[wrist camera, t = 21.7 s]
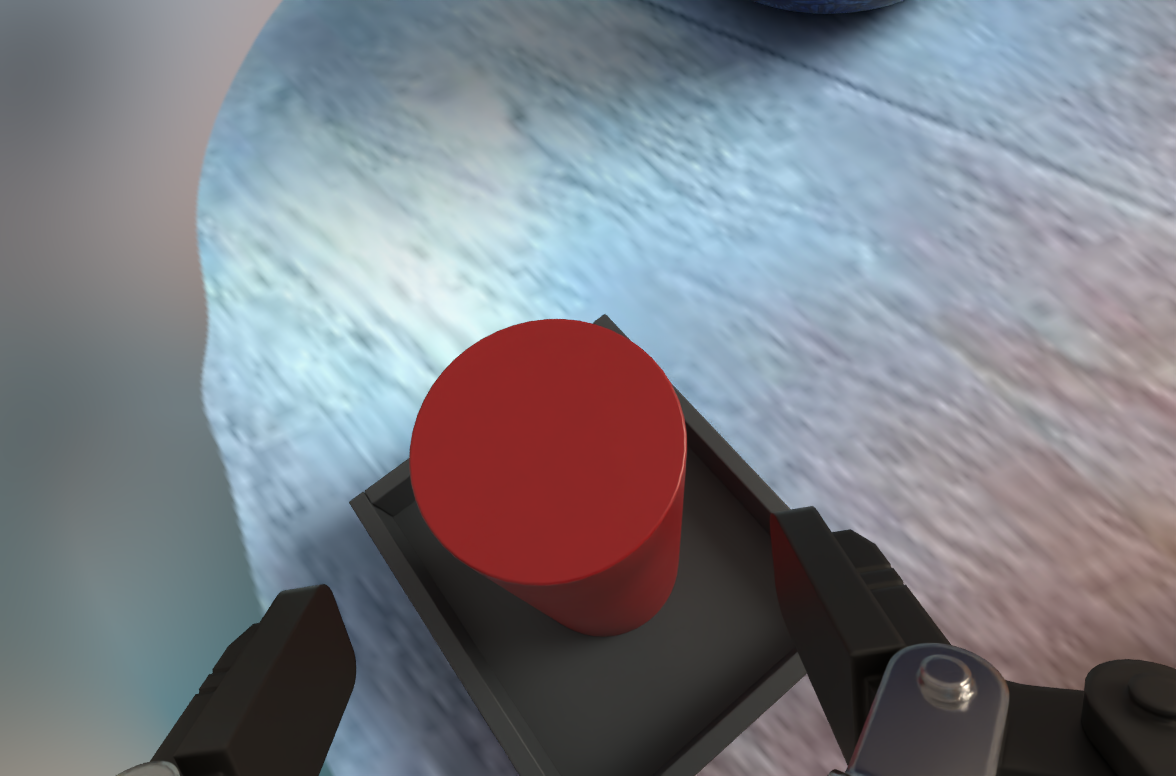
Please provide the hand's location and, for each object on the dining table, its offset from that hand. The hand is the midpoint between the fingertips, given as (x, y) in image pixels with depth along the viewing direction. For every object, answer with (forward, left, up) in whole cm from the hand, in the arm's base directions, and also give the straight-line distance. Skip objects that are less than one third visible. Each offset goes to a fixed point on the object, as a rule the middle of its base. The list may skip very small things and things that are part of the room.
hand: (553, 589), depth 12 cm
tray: (+1, +2, -12) cm, 12 cm away
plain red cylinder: (+2, +2, -11) cm, 11 cm away
